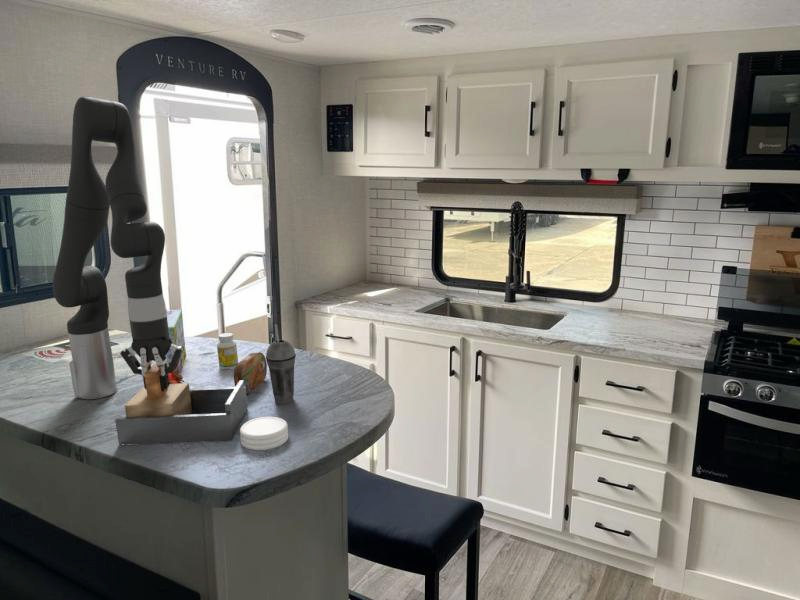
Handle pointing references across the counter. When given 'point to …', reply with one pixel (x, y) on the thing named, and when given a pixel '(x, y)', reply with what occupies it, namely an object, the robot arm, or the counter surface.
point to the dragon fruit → (175, 377)
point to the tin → (251, 371)
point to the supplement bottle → (227, 351)
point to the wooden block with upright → (159, 398)
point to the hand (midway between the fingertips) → (157, 390)
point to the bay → (190, 419)
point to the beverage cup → (281, 369)
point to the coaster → (264, 433)
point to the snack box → (176, 335)
